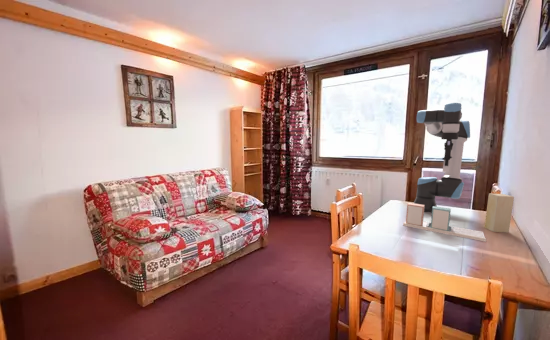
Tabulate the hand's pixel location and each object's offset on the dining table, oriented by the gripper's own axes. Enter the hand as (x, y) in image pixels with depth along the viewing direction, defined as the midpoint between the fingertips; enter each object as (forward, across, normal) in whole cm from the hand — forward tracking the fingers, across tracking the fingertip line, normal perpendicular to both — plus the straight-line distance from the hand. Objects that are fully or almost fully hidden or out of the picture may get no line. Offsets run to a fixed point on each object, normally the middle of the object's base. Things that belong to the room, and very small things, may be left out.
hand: (446, 170), depth 138 cm
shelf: (+33, +7, +1) cm, 33 cm away
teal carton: (+31, +10, 0) cm, 33 cm away
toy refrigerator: (+33, -10, +25) cm, 43 cm away
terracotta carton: (+31, +10, -12) cm, 35 cm away
